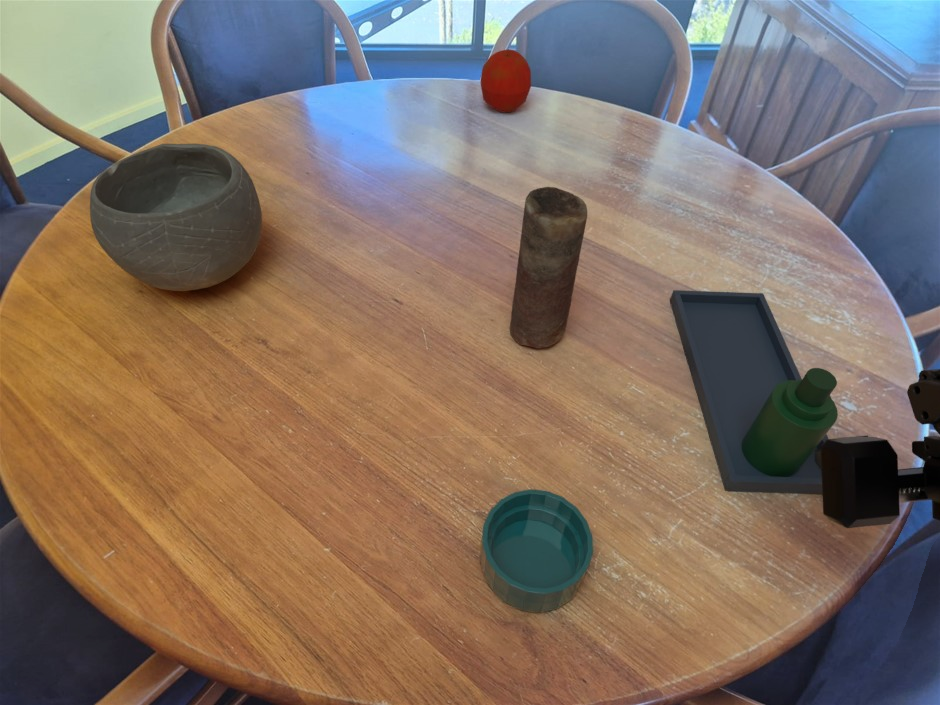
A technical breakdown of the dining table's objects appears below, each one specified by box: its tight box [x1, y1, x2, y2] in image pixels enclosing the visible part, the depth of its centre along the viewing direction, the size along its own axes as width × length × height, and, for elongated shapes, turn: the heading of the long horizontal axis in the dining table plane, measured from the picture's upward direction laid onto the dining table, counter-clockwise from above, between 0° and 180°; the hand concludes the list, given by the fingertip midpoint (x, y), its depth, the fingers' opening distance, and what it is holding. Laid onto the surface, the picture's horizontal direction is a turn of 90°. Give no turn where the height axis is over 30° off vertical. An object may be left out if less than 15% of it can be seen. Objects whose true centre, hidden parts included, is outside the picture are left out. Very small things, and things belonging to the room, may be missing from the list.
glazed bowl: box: [479, 488, 594, 613], centre depth 59 cm, size 10×10×5 cm
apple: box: [480, 48, 532, 113], centre depth 123 cm, size 10×10×12 cm
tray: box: [669, 289, 830, 495], centre depth 77 cm, size 31×13×2 cm, turn 179°
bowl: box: [89, 143, 263, 292], centre depth 85 cm, size 21×21×15 cm
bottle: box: [742, 367, 839, 477], centre depth 65 cm, size 6×6×13 cm
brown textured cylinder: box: [509, 186, 588, 349], centre depth 76 cm, size 8×7×20 cm
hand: (865, 451), depth 54 cm, fingers open, 9 cm apart
